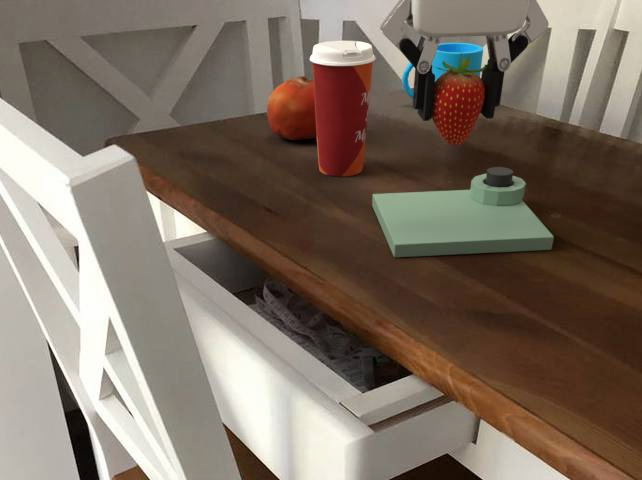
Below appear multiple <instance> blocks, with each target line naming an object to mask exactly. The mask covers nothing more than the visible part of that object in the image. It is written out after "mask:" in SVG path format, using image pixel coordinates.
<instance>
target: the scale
mask: <svg viewBox="0 0 642 480" xmlns="http://www.w3.org/2000/svg"><path fill="white" fill-rule="evenodd" d="M486 175H487V173H482V174H479V175H475V176H474V177H473V178H472V179H471V181H470V189H457V190H456V189H455V190H454V189H453V190H433V191H411V192H409V191H408V192H389V193H385V192H384V193H373V194H372V202H371V207H372V209H373V211H374V213H375V216H376V218H377V221H378V223H379V225H380V228H381V230H382V233H383V234H384V238H385V240H386V242H387V244H388V246H389V249H390V251H391V254H392V256H393V258H415V257H431V256H433V257H434V256H452V255H454V256H455V255H474V254H475V255H476V254H494V253H495V254H497V253H512V252H513V253H514V252H533V251H535V252H536V251H551V250H552V248H553V243H554V239H555V237H554V235H553V234H552V233H551V232H550V231H549V229H548V228H547V227H546V226H545V225H544V224H543V223H542V221H541V220H540V219H539V217H538V216H537V215H536V214H535V213H534V212H533V211H532V209H530V208H529V206H528V205H527V204H526V203H525V202H524V200H523V199H524V198H525V197H524V196H525V193H526V187H527V182H525V180H524V179H523V178H521V177H519V176H515V175H513V178H512V184H511V186H509V187H500V188H499V187H491V186H489V185H486V184H485V182H486Z"/></svg>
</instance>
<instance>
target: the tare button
mask: <svg viewBox="0 0 642 480" xmlns="http://www.w3.org/2000/svg"><path fill="white" fill-rule="evenodd" d="M486 174H487V175H486V182H485V184H486V185H489V186H491V187H499V188H500V187H509V186H511V184H512V178H513V176H514V170H513V169H511V168H508V167H505V166H494V167H493V166H492V167H489V168H488V169H487V170H486Z"/></svg>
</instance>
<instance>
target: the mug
mask: <svg viewBox="0 0 642 480" xmlns="http://www.w3.org/2000/svg"><path fill="white" fill-rule="evenodd" d="M461 53H462V62H463V61H464V60H465V59H466V58H467V57H468V56H469V59H470V65H469V67H467V68H466V69H467V70H478V69H481V68H482V65H483V64H482V63H483V57H484V47H483V46H481V45H478V44H476V43H475V44H474V43H466V42H443V43H439V45H438V48H437V51H436V54H435V56H434V59H433V62H432V73H433V74H434V75H435V81H436V80H437V79H438V78H439V77H440V76H441V75H442V74H443V73H445V72H447V71H444V70H450V69H448V68H445V67H444V66H443V63H442V62H443V61H444V62H445V63H446V64H448V65H450V66H452V67H454V68H458V65H459V61H460V55H461ZM435 67H437V68H435ZM413 68H414V66H413V65H412V64H411V63H410V62H408V64H407V65H406V67H405V68H404V70H403V72H402V77H401V83H402V88H403V90H404V91H405V93H406V95H408V96H409V98H411V99H412V100H413V91H414V90H413V89H412V88H411V87H410V84H409V76H410V73H411V71H412V70H413ZM438 68H441V69H443V70H440V69H438ZM473 73H475V74H477V75H478V76H479V77H480V78H481V74H482V72H473Z"/></svg>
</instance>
